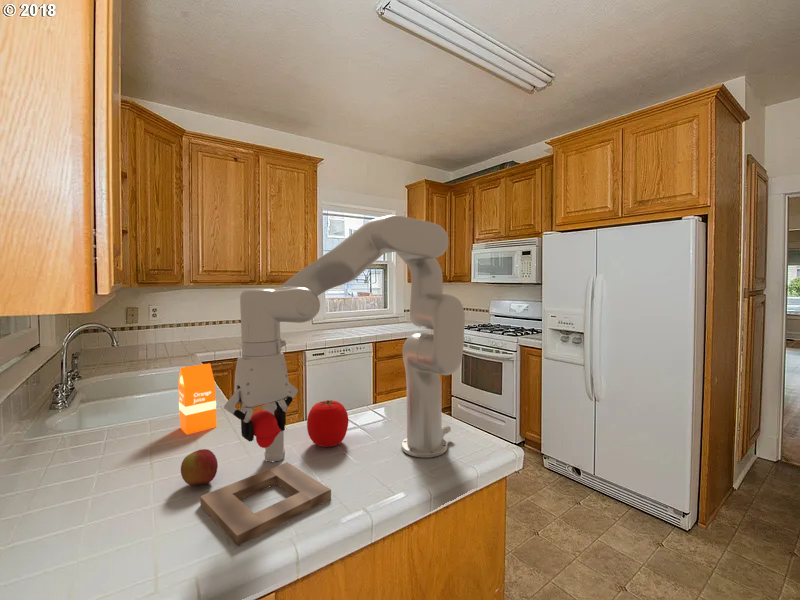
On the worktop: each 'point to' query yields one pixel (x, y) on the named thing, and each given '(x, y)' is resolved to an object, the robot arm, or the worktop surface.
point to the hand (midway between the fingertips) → (264, 433)
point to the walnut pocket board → (250, 525)
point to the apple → (199, 467)
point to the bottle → (277, 447)
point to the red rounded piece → (264, 428)
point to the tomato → (327, 423)
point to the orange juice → (197, 398)
